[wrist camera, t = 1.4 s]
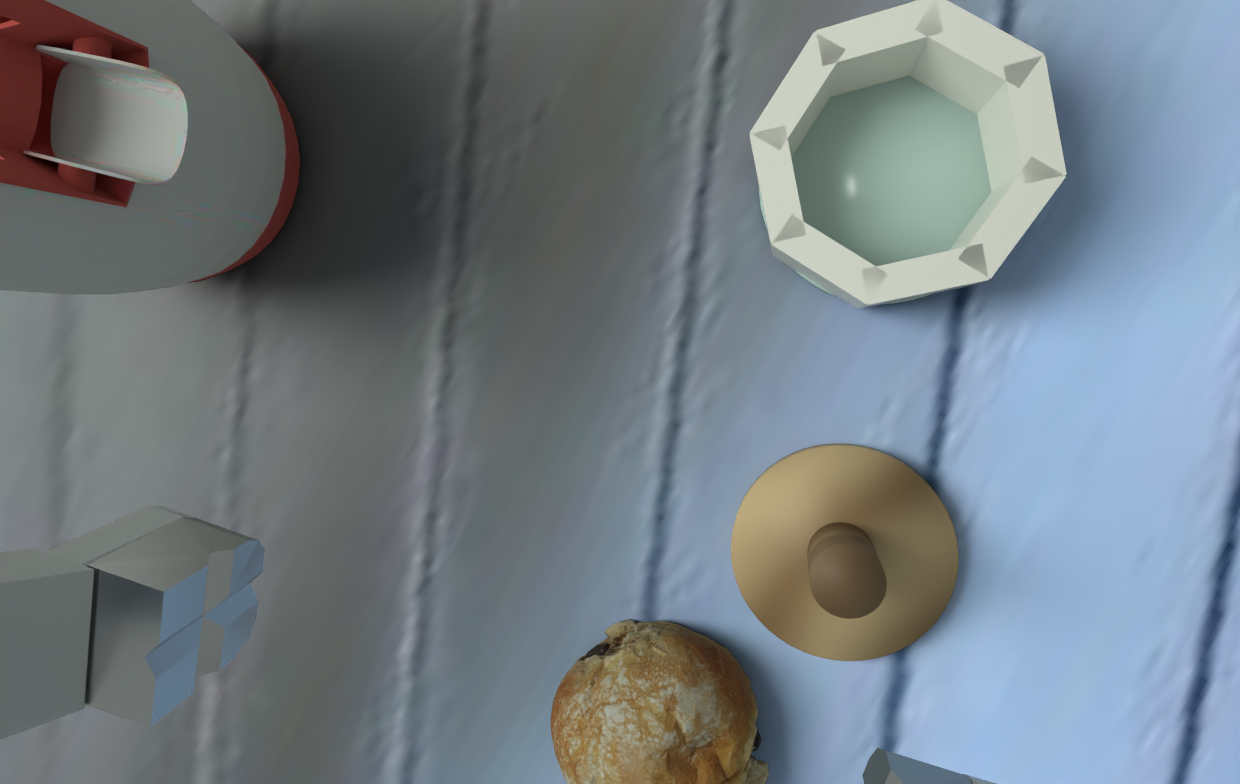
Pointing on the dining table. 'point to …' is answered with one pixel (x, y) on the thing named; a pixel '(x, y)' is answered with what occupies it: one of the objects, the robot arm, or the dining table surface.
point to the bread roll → (656, 711)
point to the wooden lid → (844, 552)
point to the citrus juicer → (134, 147)
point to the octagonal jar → (906, 153)
